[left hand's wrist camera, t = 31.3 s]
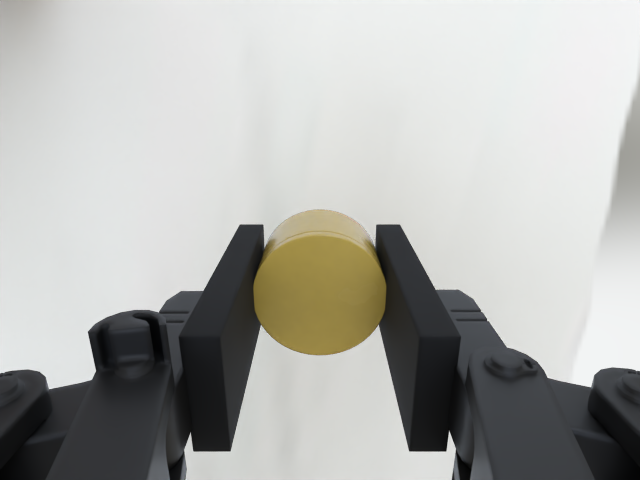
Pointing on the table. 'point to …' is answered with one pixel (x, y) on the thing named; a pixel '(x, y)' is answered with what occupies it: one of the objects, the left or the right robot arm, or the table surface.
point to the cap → (319, 284)
